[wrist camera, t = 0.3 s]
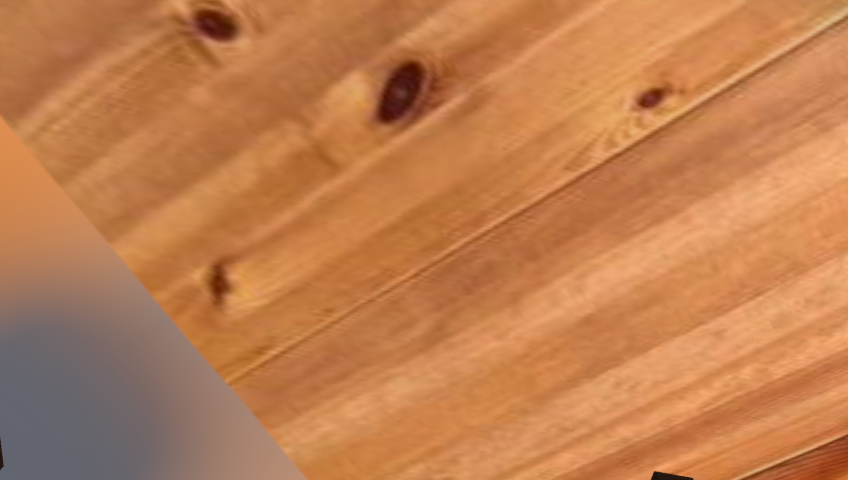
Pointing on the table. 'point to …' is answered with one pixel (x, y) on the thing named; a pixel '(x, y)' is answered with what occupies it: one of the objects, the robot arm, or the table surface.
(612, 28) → the table surface
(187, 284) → the table surface
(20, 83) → the table surface
